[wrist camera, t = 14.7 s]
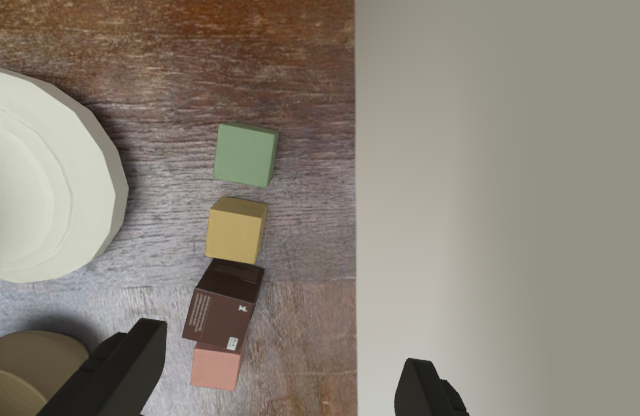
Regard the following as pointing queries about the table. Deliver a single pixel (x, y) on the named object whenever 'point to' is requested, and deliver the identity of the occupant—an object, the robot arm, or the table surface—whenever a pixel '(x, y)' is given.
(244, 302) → the box
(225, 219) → the block
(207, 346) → the block
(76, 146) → the candle holder
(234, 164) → the block
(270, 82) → the table surface
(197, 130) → the table surface
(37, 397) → the bowl
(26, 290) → the table surface
